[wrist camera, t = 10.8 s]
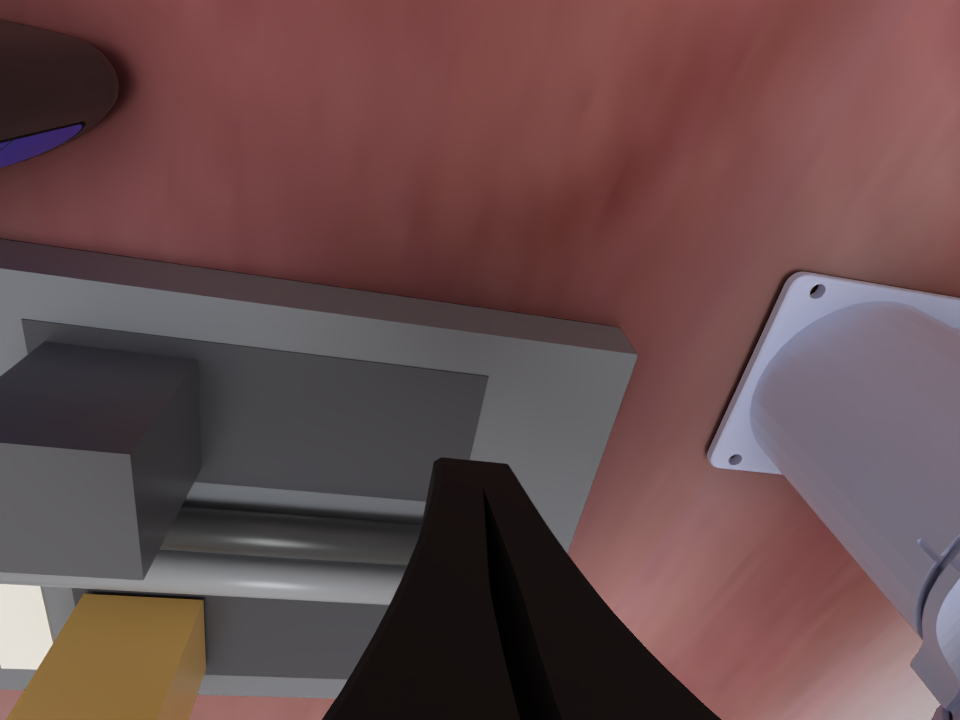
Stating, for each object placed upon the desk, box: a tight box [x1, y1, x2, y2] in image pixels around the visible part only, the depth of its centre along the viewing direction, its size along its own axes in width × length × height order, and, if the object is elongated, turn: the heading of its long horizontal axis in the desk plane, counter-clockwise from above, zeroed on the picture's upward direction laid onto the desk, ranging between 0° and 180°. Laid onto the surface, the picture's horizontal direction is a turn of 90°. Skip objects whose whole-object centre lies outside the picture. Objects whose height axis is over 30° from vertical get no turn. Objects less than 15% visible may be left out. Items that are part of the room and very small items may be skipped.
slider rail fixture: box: [0, 239, 638, 698], centre depth 19 cm, size 22×18×6 cm
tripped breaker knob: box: [6, 594, 206, 720], centre depth 20 cm, size 4×4×4 cm
